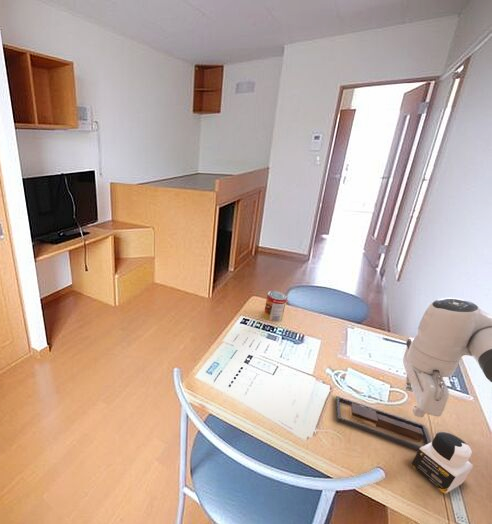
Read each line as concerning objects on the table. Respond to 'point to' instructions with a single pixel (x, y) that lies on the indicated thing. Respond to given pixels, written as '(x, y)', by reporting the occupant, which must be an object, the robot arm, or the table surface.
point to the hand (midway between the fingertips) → (412, 401)
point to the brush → (383, 422)
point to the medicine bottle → (444, 461)
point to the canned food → (275, 306)
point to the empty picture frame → (378, 431)
